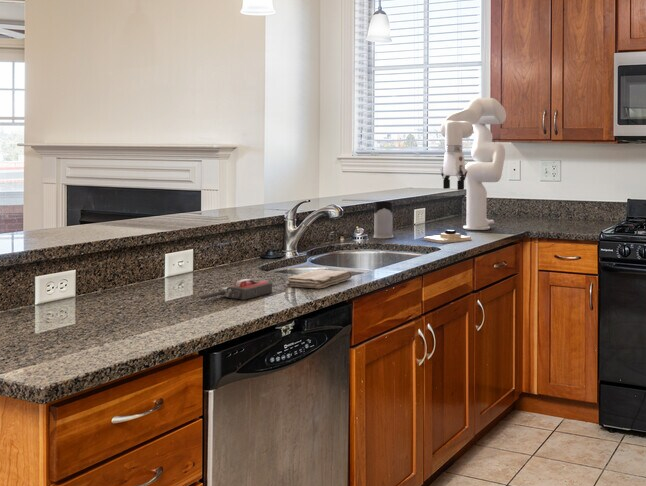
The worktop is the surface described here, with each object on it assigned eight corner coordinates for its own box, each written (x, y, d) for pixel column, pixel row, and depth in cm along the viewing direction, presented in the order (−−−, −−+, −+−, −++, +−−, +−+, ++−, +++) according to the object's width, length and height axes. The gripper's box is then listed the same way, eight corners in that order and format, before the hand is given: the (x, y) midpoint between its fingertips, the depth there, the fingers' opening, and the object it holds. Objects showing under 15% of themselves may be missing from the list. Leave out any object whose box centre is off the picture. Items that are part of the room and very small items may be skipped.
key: (451, 233, 312) (451, 229, 312) (455, 234, 309) (455, 230, 309) (445, 234, 310) (445, 230, 310) (450, 235, 307) (450, 230, 307)
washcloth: (284, 286, 212) (284, 276, 212) (319, 276, 228) (319, 266, 228) (319, 290, 207) (319, 279, 207) (352, 279, 223) (352, 269, 223)
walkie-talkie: (252, 288, 209) (197, 302, 191) (252, 273, 209) (197, 285, 191) (277, 292, 205) (223, 306, 187) (277, 276, 205) (223, 288, 187)
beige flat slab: (452, 237, 321) (452, 230, 321) (471, 240, 312) (471, 232, 312) (423, 240, 311) (423, 233, 311) (441, 243, 302) (441, 236, 302)
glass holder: (373, 238, 315) (373, 203, 315) (371, 234, 329) (371, 200, 329) (394, 238, 317) (394, 203, 317) (391, 234, 331) (391, 200, 331)
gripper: (473, 149, 317) (473, 189, 318) (448, 149, 331) (447, 187, 331) (459, 149, 313) (459, 190, 313) (434, 149, 326) (434, 188, 326)
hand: (453, 189), depth 322 cm, fingers open, 9 cm apart
